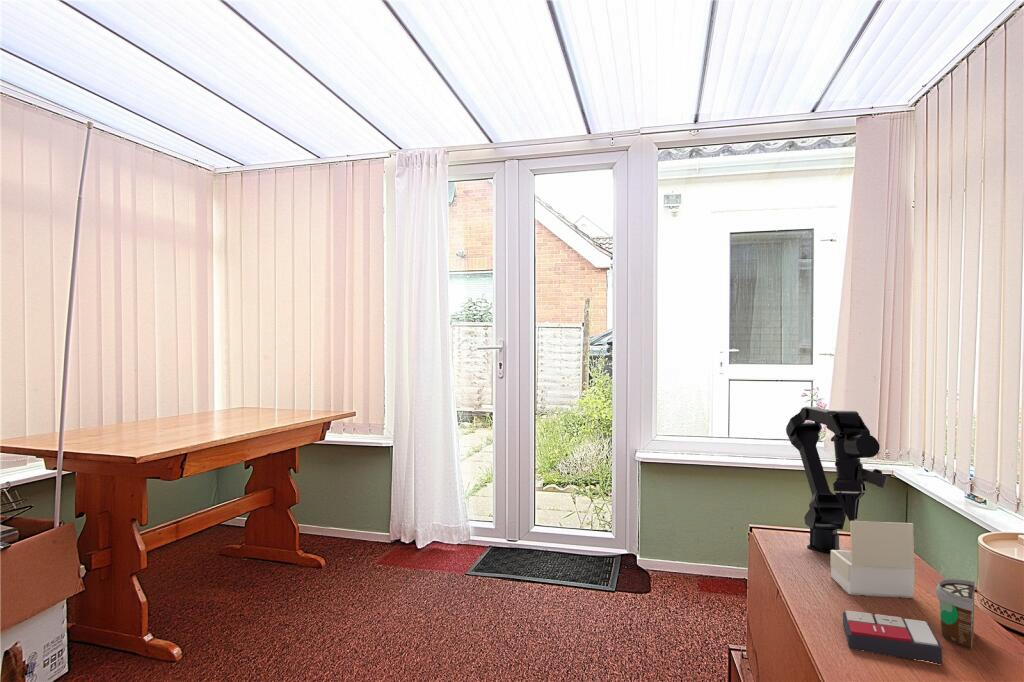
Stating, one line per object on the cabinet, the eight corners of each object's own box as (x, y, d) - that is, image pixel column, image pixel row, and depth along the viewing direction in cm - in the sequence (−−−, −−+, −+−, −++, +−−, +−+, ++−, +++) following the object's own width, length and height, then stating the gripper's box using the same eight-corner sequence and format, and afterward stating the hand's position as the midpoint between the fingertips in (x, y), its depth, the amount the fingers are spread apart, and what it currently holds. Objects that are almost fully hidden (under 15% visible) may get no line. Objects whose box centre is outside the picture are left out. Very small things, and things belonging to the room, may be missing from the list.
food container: (937, 620, 129) (938, 573, 129) (973, 629, 125) (974, 580, 125) (931, 642, 119) (932, 591, 119) (970, 653, 115) (971, 600, 115)
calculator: (842, 607, 127) (928, 618, 121) (843, 628, 126) (928, 640, 121) (848, 630, 116) (942, 643, 111) (849, 653, 116) (943, 667, 110)
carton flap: (850, 520, 142) (851, 521, 141) (911, 523, 140) (913, 523, 140) (851, 564, 141) (852, 565, 140) (913, 567, 140) (914, 568, 139)
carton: (829, 578, 151) (830, 549, 151) (891, 581, 150) (892, 552, 150) (848, 594, 141) (848, 564, 141) (914, 598, 140) (915, 567, 140)
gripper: (882, 457, 148) (888, 524, 145) (884, 459, 163) (891, 520, 160) (830, 457, 154) (836, 521, 151) (837, 459, 169) (843, 517, 166)
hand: (853, 520), depth 157 cm, fingers open, 9 cm apart
